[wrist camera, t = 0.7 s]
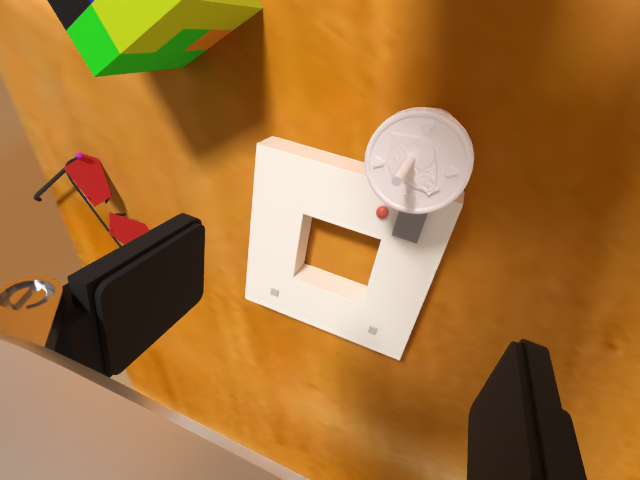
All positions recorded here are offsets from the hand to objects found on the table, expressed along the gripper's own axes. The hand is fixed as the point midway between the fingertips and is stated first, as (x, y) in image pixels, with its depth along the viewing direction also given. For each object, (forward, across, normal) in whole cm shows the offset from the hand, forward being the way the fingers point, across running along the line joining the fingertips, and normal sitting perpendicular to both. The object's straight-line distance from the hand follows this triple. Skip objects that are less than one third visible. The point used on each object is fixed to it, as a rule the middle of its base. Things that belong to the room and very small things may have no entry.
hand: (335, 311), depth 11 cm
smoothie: (+24, 0, -1) cm, 24 cm away
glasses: (+25, +38, +21) cm, 50 cm away
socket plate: (+24, +5, +12) cm, 27 cm away
